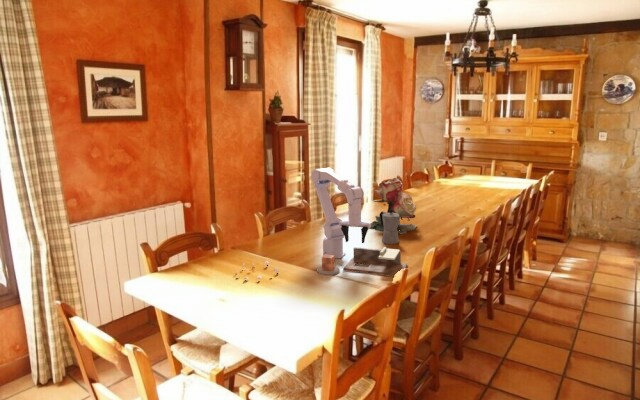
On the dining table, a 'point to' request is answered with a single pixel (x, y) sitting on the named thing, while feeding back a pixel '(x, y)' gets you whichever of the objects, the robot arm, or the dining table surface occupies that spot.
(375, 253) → the puzzle board
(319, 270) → the saucer
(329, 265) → the block
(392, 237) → the coffeepot
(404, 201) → the rose bouquet
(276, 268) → the game piece set
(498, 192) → the dining table surface
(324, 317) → the dining table surface
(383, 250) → the sliding lid
